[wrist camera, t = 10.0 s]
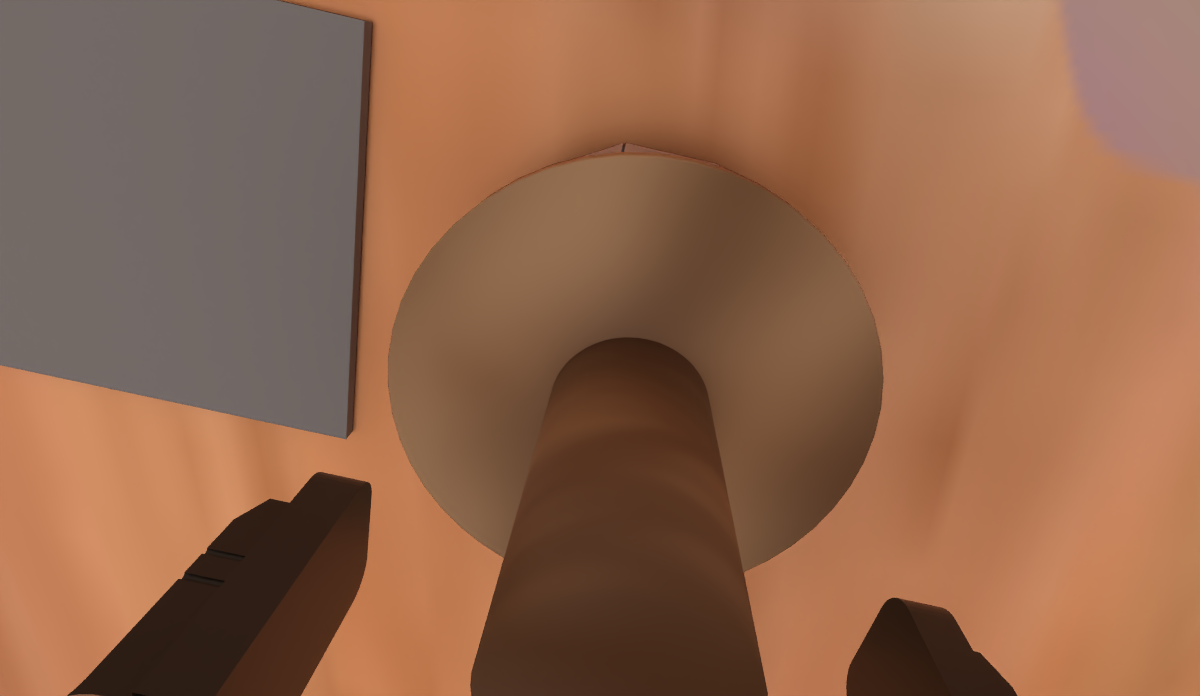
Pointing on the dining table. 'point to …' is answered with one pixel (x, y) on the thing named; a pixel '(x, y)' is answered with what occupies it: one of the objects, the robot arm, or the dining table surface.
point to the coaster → (186, 201)
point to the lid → (632, 414)
